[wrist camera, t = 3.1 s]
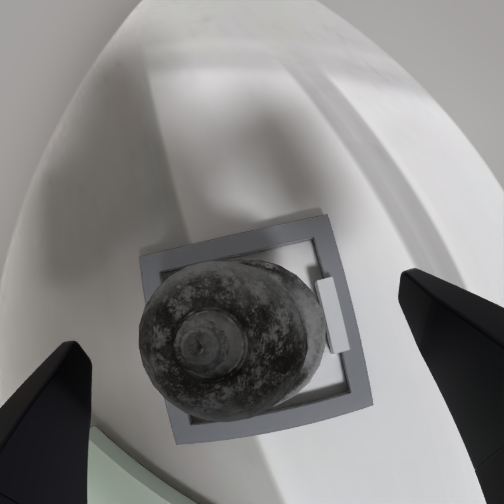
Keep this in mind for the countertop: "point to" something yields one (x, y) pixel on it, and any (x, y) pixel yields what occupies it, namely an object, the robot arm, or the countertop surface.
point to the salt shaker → (231, 338)
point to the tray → (123, 477)
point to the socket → (332, 306)
